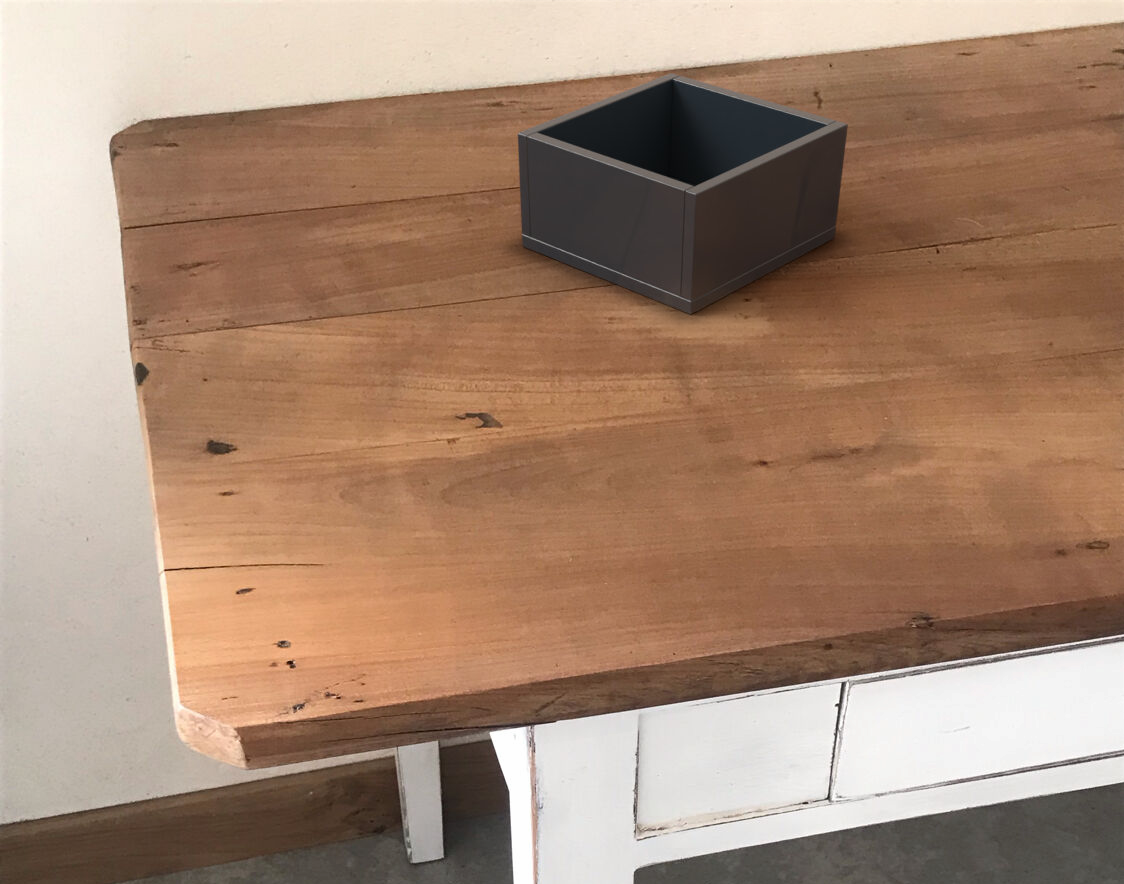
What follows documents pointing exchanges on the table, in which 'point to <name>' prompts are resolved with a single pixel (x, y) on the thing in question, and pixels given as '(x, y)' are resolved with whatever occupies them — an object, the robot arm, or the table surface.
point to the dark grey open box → (680, 188)
